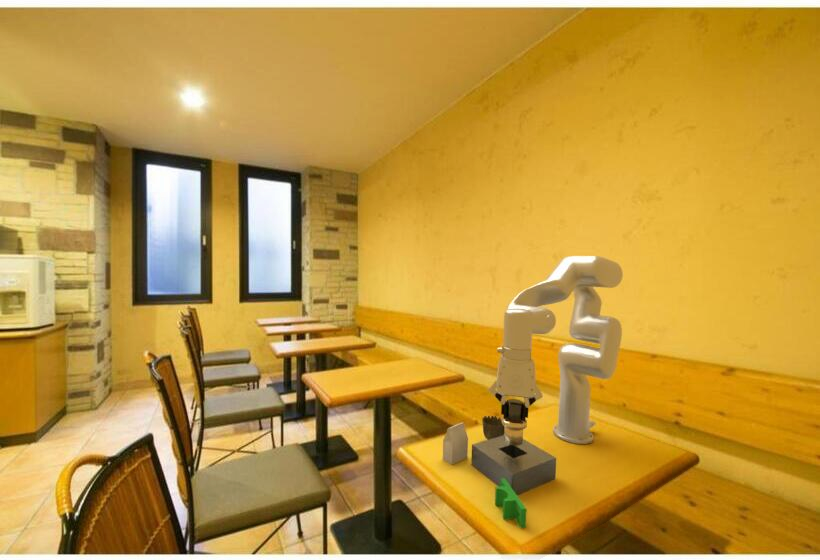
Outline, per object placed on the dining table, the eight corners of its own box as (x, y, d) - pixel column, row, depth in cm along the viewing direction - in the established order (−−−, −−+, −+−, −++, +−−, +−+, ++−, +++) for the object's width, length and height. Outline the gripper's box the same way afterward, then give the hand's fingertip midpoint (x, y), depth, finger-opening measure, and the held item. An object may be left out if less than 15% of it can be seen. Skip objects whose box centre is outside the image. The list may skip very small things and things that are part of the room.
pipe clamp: (489, 497, 89) (490, 479, 88) (504, 496, 89) (504, 478, 89) (509, 530, 78) (510, 509, 77) (525, 528, 78) (526, 508, 78)
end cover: (513, 433, 103) (514, 395, 103) (531, 443, 98) (533, 404, 97) (495, 438, 100) (497, 399, 100) (513, 449, 94) (515, 408, 94)
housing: (511, 451, 110) (512, 432, 110) (555, 479, 96) (556, 457, 96) (471, 464, 102) (471, 444, 102) (512, 497, 88) (513, 473, 88)
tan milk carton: (467, 457, 106) (468, 424, 106) (451, 465, 102) (452, 431, 102) (458, 452, 109) (459, 420, 109) (442, 459, 105) (443, 426, 104)
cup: (505, 451, 110) (506, 426, 110) (481, 448, 111) (482, 423, 111) (504, 440, 117) (505, 416, 117) (481, 437, 119) (482, 414, 118)
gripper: (484, 354, 96) (482, 419, 97) (551, 359, 92) (548, 428, 93) (486, 347, 104) (484, 409, 104) (547, 352, 99) (545, 417, 100)
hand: (514, 417), depth 99 cm, fingers closed on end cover, 4 cm apart
